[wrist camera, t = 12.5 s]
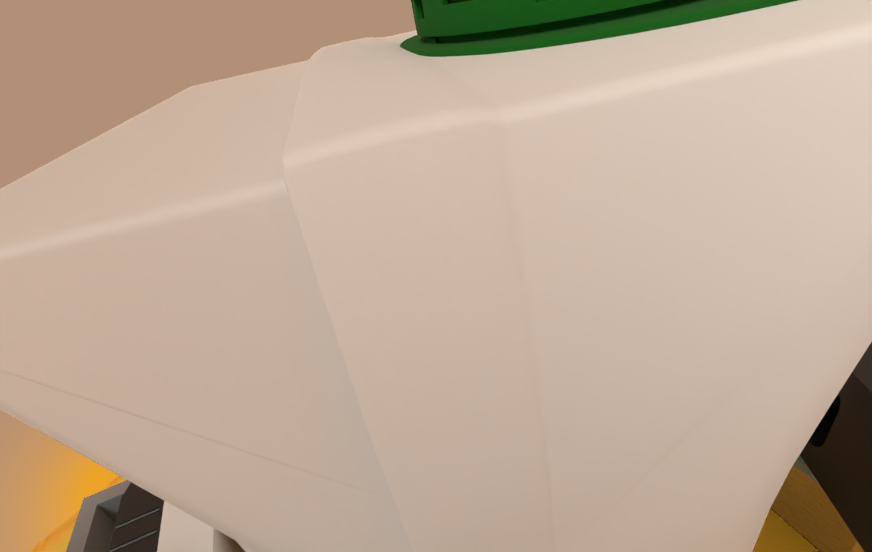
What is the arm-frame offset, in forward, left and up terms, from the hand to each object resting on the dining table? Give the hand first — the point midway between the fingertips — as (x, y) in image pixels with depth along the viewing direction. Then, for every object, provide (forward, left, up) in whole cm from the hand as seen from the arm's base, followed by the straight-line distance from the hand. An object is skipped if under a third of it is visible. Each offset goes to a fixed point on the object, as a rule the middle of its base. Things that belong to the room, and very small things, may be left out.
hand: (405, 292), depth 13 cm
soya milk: (0, -4, -12) cm, 13 cm away
